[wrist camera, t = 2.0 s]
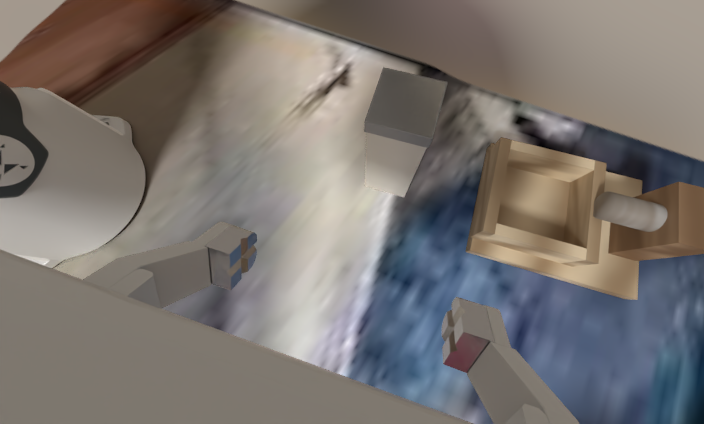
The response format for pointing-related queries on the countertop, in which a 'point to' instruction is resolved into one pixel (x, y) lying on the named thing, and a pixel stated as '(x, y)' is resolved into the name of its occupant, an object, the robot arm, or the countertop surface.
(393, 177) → the block
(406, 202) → the countertop surface
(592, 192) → the shaft seat
